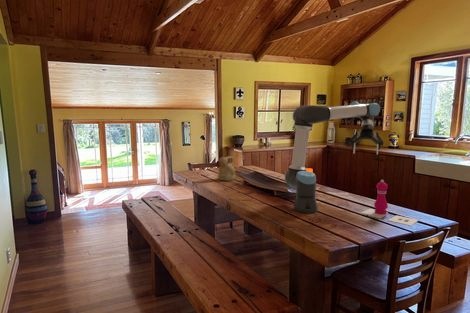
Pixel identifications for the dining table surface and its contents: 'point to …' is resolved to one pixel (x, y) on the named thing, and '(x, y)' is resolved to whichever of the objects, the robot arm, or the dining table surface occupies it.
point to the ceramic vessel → (226, 168)
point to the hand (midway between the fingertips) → (365, 152)
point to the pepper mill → (381, 198)
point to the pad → (373, 213)
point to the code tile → (403, 220)
